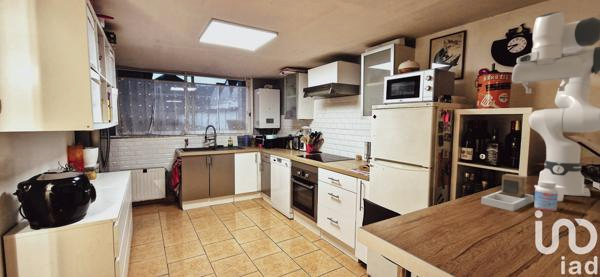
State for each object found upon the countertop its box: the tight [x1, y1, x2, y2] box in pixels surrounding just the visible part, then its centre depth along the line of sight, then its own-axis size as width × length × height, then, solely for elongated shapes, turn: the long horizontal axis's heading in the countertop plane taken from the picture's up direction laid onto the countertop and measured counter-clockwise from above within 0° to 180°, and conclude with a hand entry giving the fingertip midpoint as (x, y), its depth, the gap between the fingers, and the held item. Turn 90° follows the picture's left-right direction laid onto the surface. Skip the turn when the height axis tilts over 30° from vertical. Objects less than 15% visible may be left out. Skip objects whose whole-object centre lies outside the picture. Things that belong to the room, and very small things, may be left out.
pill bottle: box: [533, 180, 558, 212], centre depth 94 cm, size 6×6×11 cm
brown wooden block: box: [501, 173, 527, 198], centre depth 103 cm, size 6×6×10 cm
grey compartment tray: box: [480, 189, 535, 212], centre depth 101 cm, size 20×10×4 cm, turn 123°
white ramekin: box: [554, 185, 565, 202], centre depth 105 cm, size 7×7×7 cm
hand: (544, 92), depth 101 cm, fingers open, 8 cm apart
